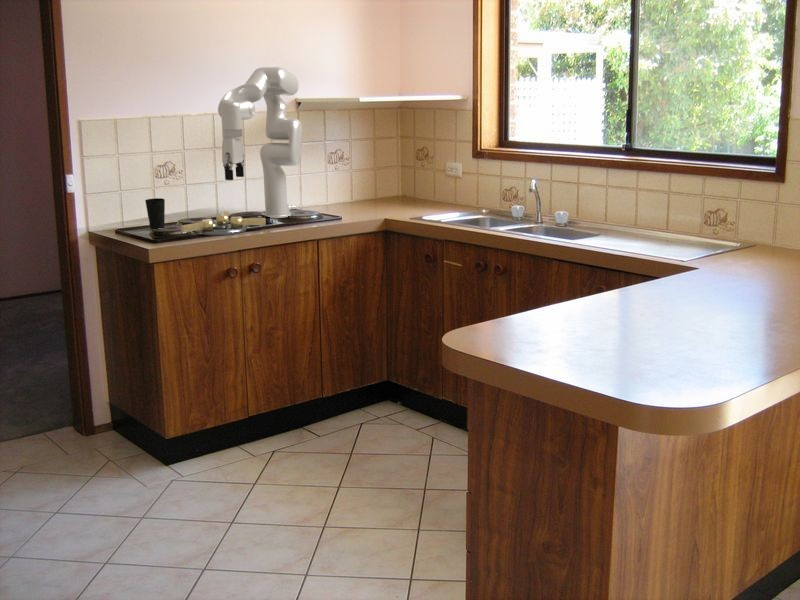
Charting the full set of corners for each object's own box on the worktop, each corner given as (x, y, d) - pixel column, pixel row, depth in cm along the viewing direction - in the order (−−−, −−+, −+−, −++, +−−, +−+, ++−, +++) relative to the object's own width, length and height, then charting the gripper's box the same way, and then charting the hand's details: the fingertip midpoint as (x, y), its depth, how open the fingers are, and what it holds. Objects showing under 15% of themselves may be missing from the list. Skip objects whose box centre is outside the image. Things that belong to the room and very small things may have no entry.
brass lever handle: (230, 228, 361) (229, 218, 360) (231, 225, 366) (231, 215, 365) (264, 227, 362) (264, 217, 361) (266, 225, 366) (265, 215, 365)
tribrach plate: (225, 224, 377) (225, 218, 377) (256, 230, 364) (255, 223, 364) (185, 231, 363) (185, 225, 362) (215, 237, 350) (215, 231, 349)
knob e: (208, 228, 362) (208, 217, 361) (216, 229, 359) (215, 219, 358) (179, 233, 352) (178, 223, 351) (186, 234, 349) (185, 224, 348)
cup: (155, 231, 364) (153, 202, 361) (143, 229, 369) (141, 200, 365) (170, 228, 370) (168, 199, 367) (159, 226, 375) (156, 197, 371)
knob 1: (228, 225, 367) (227, 215, 366) (216, 225, 367) (215, 215, 366) (232, 218, 381) (231, 209, 380) (221, 219, 381) (220, 209, 379)
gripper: (232, 132, 357) (235, 175, 362) (213, 135, 341) (216, 181, 346) (250, 132, 356) (252, 175, 360) (231, 136, 339) (234, 181, 344)
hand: (234, 178), depth 353 cm, fingers open, 9 cm apart
